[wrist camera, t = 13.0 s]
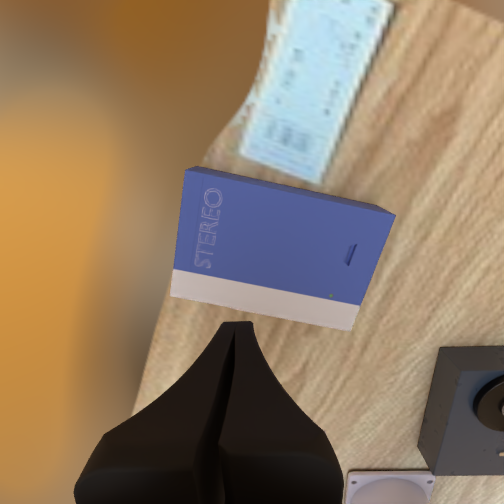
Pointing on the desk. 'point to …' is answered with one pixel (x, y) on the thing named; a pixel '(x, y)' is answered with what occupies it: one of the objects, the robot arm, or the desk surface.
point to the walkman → (275, 248)
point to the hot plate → (461, 414)
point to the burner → (491, 404)
